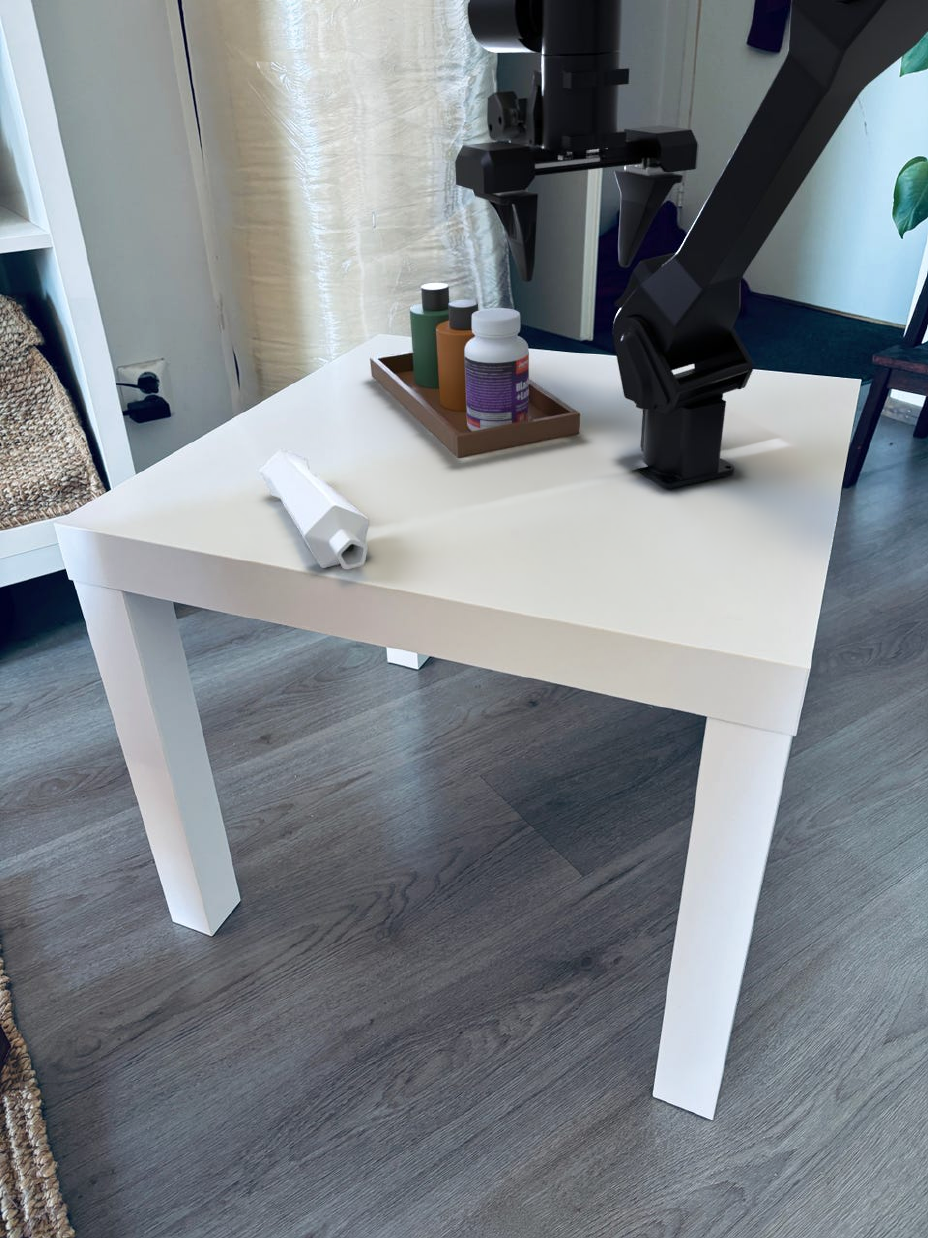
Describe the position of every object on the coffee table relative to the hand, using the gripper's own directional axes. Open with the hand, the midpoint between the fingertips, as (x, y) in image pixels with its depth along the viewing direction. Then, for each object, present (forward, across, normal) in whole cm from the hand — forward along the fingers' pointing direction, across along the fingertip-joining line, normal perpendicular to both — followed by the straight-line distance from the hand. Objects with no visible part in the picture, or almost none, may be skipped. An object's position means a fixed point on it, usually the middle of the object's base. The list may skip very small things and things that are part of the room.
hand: (576, 273), depth 79 cm
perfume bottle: (+11, +27, +2) cm, 29 cm away
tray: (+13, +7, -8) cm, 17 cm away
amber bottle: (+12, +7, -8) cm, 16 cm away
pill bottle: (+12, +7, -1) cm, 14 cm away
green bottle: (+12, +7, -15) cm, 20 cm away
